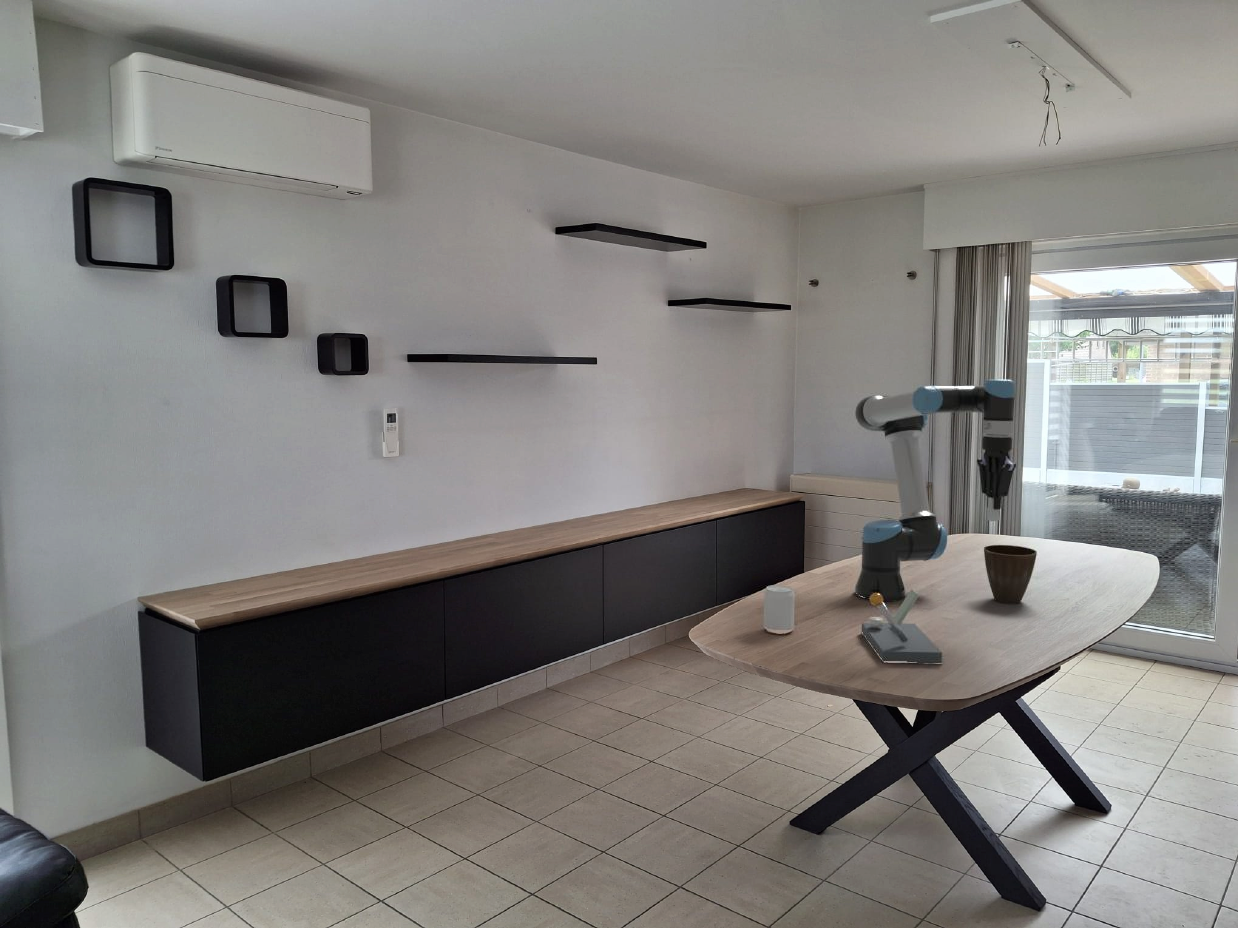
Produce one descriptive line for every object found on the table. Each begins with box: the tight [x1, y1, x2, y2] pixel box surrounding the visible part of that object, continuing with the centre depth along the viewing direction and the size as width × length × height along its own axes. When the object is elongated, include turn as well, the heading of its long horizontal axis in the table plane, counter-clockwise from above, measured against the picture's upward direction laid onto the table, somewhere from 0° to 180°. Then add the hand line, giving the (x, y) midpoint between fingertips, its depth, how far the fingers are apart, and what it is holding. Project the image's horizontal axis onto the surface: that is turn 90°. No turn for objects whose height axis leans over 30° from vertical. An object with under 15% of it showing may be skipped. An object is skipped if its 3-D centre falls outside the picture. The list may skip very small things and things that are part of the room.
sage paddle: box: [893, 588, 920, 626], centre depth 230 cm, size 4×1×10 cm, turn 177°
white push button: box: [868, 616, 884, 627], centre depth 231 cm, size 4×4×2 cm
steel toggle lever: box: [869, 593, 908, 643], centre depth 216 cm, size 3×3×14 cm
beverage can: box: [763, 584, 796, 630], centre depth 238 cm, size 8×8×12 cm
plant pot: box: [983, 544, 1038, 605], centre depth 269 cm, size 15×15×16 cm
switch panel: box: [861, 622, 943, 664], centre depth 224 cm, size 24×14×3 cm, turn 177°
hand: (993, 520), depth 243 cm, fingers closed
